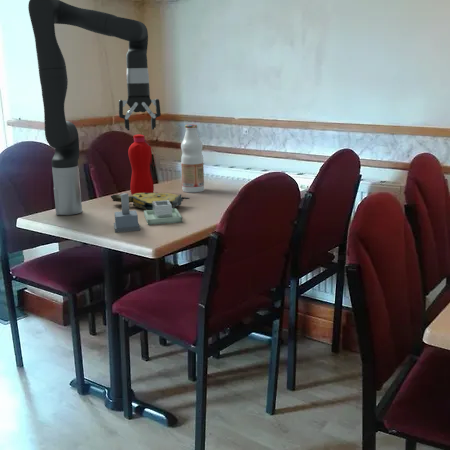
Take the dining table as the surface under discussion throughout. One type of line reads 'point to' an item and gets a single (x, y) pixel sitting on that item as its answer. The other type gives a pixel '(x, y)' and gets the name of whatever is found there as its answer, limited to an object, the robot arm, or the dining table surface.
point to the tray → (150, 218)
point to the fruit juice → (192, 161)
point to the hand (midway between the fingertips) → (140, 129)
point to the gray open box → (162, 209)
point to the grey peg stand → (126, 217)
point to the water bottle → (140, 166)
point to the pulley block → (151, 199)
